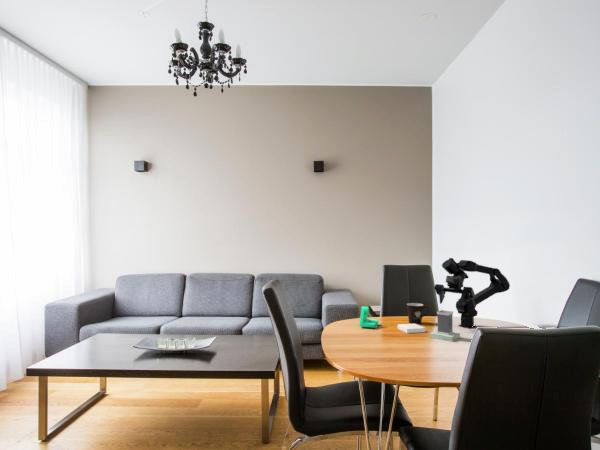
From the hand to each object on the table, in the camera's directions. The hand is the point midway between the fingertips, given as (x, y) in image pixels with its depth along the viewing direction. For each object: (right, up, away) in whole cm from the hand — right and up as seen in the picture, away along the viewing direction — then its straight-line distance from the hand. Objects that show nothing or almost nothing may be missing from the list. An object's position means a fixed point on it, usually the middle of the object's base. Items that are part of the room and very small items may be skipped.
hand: (449, 304), depth 194 cm
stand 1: (-18, -14, +3) cm, 23 cm away
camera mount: (-38, -14, +12) cm, 42 cm away
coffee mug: (-10, -14, +19) cm, 26 cm away
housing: (-6, -11, -11) cm, 17 cm away
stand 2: (-6, -13, -11) cm, 18 cm away
